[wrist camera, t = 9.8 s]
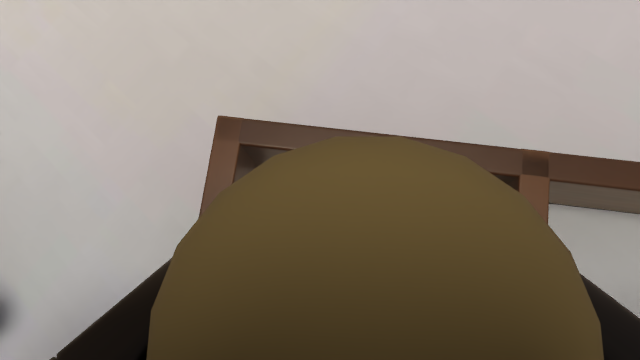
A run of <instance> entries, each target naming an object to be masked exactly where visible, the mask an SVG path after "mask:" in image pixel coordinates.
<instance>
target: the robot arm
mask: <svg viewBox="0 0 640 360" xmlns="http://www.w3.org/2000/svg"><path fill="white" fill-rule="evenodd" d="M171 260H172V258H171V259H170V260H169V261H168V262H166V263H165V264H164V265H163V266H162V267H160V268H159V269H158V270H157V271H156V272H154V273H153V274H152V275H151V276H150V277H148V278H147V279H146V280H145V281H144V282H142V283H141V284H140V285H139V286H138V287H136V288H135V289H134V290H133V291H132V292H130V293H129V294H128V295H127V296H126V297H124V298H123V299H122V300H121V301H120V302H118V303H117V304H116V305H115V306H114V307H112V308H111V309H110V310H109V311H108V312H106V313H105V314H104V315H103V316H102V317H100V318H99V319H98V320H97V321H96V322H94V323H93V324H92V325H91V326H90V327H88V328H87V329H86V330H85V331H84V332H82V333H81V334H80V335H79V336H78V337H76V338H75V339H74V340H73V341H72V342H70V343H69V344H68V345H67V346H66V347H64V348H63V349H62V350H61V351H60V352H58V354H57V358H56V357H53V358H51V359H50V360H146V359H147V348H148V338H149V327H150V317H151V309H152V307H153V305H154V302H155V300H156V297H157V295H158V292H159V290H160V287H161V285H162V282H163V280H164V277H165V275H166V272H167V270H168V267H169V265H170V262H171ZM579 274H580V273H579ZM580 276H581V278H582V281H583V283H584V285H585V288H586V290H587V293H588V295H589V297H590V300H591V302H592V304H593V307H594V309H595V312H596V314H597V316H598V319H599V321H600V325H601V335H602V345H603V355H604V360H640V318H638V317H637V316H636V315H634V314H633V313H632V312H630V311H629V310H628V309H626V308H625V307H624V306H622V305H621V304H620V303H618V302H617V301H616V300H614V299H613V298H612V297H610V296H609V295H608V294H606V293H605V292H604V291H602V290H601V289H600V288H598V287H597V286H596V285H594V284H593V283H592V282H591V281H589V280H588V279H587V278H585V277H584V276H583V275H581V274H580Z"/></svg>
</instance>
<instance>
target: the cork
mask: <svg viewBox="0 0 640 360" xmlns="http://www.w3.org/2000/svg"><path fill="white" fill-rule="evenodd" d="M146 360H604V355H603V345H602V335H601V325H600V321H599V319H598V316H597V314H596V312H595V309H594V307H593V304H592V302H591V300H590V297H589V295H588V293H587V290H586V288H585V285H584V283H583V281H582V278H581V276H580V274H579V271H578V269H577V266H576V264H575V262H574V259H573V257H572V254H571V252H570V251H569V250H568V249H567V247H566V246H565V245H564V244H563V243H562V241H561V240H560V239H559V238H558V236H557V235H556V234H555V233H554V232H553V230H552V229H551V228H550V227H549V225H548V224H547V223H546V222H545V221H544V219H543V218H542V217H541V216H540V215H539V213H538V212H537V211H536V210H535V208H534V207H533V206H532V205H531V204H530V202H529V201H528V200H527V199H526V198H525V196H524V195H522V194H521V193H519V192H518V191H516V190H515V189H513V188H512V187H510V186H509V185H507V184H506V183H504V182H503V181H501V180H500V179H498V178H497V177H496V176H494V175H493V174H491V173H490V172H488V171H487V170H485V169H484V168H482V167H481V166H479V165H478V164H476V163H475V162H473V161H472V160H470V159H469V158H467V157H466V156H463V155H459V154H456V153H453V152H450V151H446V150H443V149H440V148H437V147H433V146H430V145H427V144H424V143H420V142H417V141H414V140H411V139H408V138H404V137H345V136H336V137H333V138H329V139H326V140H323V141H320V142H316V143H313V144H310V145H307V146H303V147H300V148H297V149H294V150H290V151H287V152H284V153H281V154H277V155H274V156H272V157H271V158H270V159H268V160H267V161H265V162H264V163H262V164H261V165H259V166H258V167H256V168H255V169H253V170H252V171H250V172H249V173H248V174H246V175H245V176H243V177H242V178H240V179H239V180H237V181H236V182H234V183H233V184H231V185H230V186H229V187H227V188H226V189H224V190H223V191H221V192H220V193H219V194H218V195H217V196H216V198H215V199H214V200H213V201H212V203H211V204H210V205H209V206H208V208H207V209H206V210H205V211H204V213H203V214H202V215H201V216H200V218H199V219H198V220H197V221H196V223H195V224H194V225H193V226H192V228H191V229H190V230H189V231H188V233H187V234H186V235H185V236H184V238H183V239H182V240H181V241H180V243H179V244H178V245H177V247H176V250H175V252H174V255H173V257H172V260H171V262H170V265H169V267H168V270H167V272H166V275H165V277H164V280H163V282H162V285H161V287H160V290H159V292H158V295H157V297H156V300H155V302H154V305H153V307H152V309H151V317H150V327H149V338H148V348H147V359H146Z"/></svg>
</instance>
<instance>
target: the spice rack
mask: <svg viewBox="0 0 640 360" xmlns="http://www.w3.org/2000/svg"><path fill="white" fill-rule="evenodd" d="M336 136H345V137H404V138H408V139H411V140H414V141H417V142H420V143H424V144H427V145H430V146H433V147H437V148H440V149H443V150H446V151H450V152H453V153H456V154H459V155H463V156H466V157H467V158H469V159H470V160H472V161H473V162H475V163H476V164H478V165H479V166H481V167H482V168H484V169H485V170H487V171H488V172H490V173H491V174H493V175H494V176H496V177H497V178H498V179H500V180H501V181H503V182H504V183H506V184H507V185H509V186H510V187H512V188H513V189H515V190H516V191H518V192H519V193H521V194H522V195H524V196H525V198H526V199H527V200H528V201H529V202H530V204H531V205H532V206H533V207H534V208H535V210H536V211H537V212H538V213H539V215H540V216H541V217H542V218H543V219H544V221H545V222H546V223H547V224H548V208H549V203H554V204H562V205H570V206H579V207H587V208H596V209H604V210H612V211H621V212H629V213H637V214H640V162H634V161H625V160H616V159H606V158H597V157H588V156H579V155H570V154H561V153H552V152H546V151H537V150H528V149H516V148H507V147H498V146H488V145H479V144H470V143H461V142H452V141H443V140H434V139H425V138H416V137H407V136H398V135H389V134H380V133H370V132H361V131H352V130H343V129H334V128H325V127H316V126H307V125H298V124H289V123H280V122H271V121H261V120H252V119H244V118H236V117H227V116H218V117H217V123H216V128H215V134H214V139H213V144H212V150H211V155H210V160H209V166H208V171H207V176H206V182H205V187H204V193H203V198H202V203H201V209H200V214H199V218H200V216H201V215H202V214H203V213H204V211H205V210H206V209H207V208H208V206H209V205H210V204H211V203H212V201H213V200H214V199H215V198H216V196H217V195H218V194H219V193H220V192H221V191H223V190H224V189H226V188H227V187H229V186H230V185H231V184H233V183H234V182H236V181H237V180H239V179H240V178H242V177H243V176H245V175H246V174H248V173H249V172H250V171H252V170H253V169H255V168H256V167H258V166H259V165H261V164H262V163H264V162H265V161H267V160H268V159H270V158H271V157H272V156H274V155H277V154H281V153H284V152H287V151H290V150H294V149H297V148H300V147H303V146H307V145H310V144H313V143H316V142H320V141H323V140H326V139H329V138H333V137H336Z"/></svg>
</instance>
